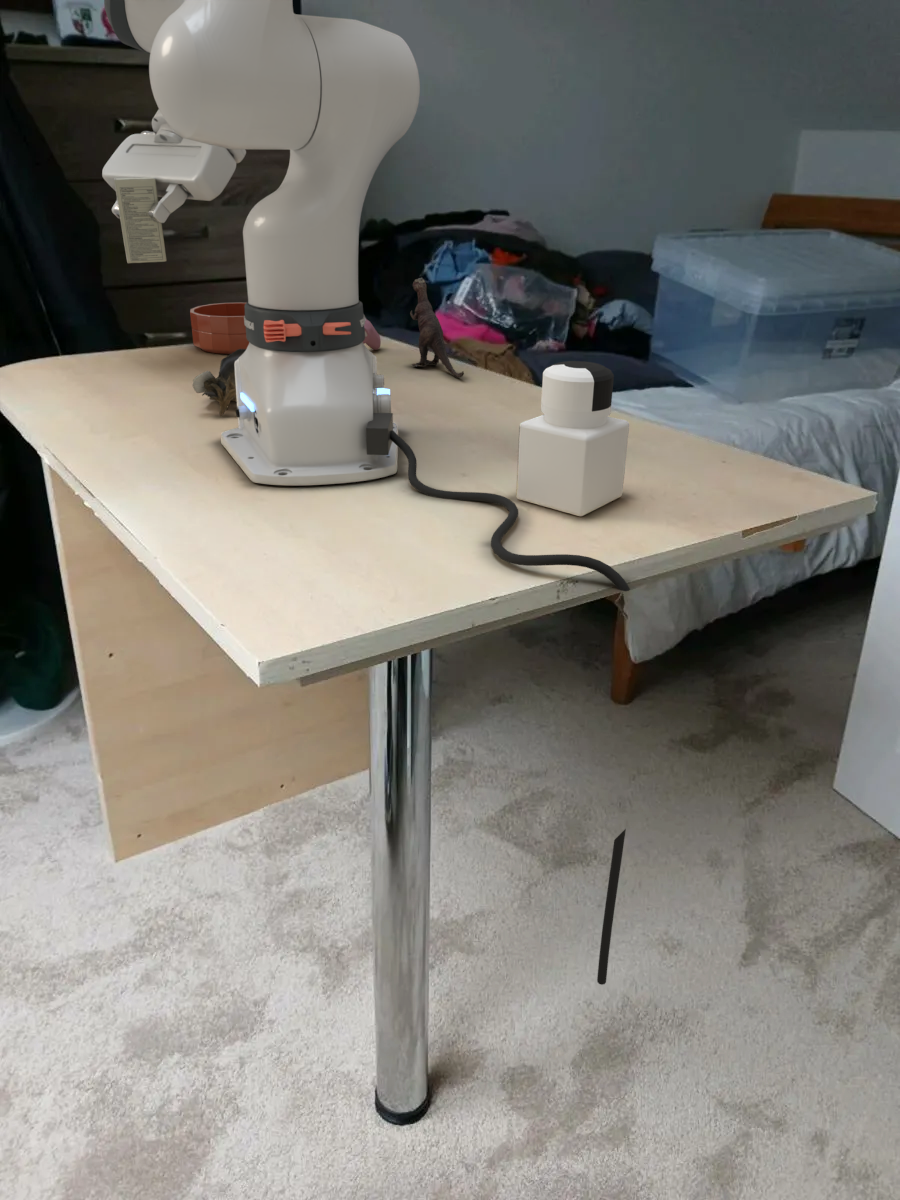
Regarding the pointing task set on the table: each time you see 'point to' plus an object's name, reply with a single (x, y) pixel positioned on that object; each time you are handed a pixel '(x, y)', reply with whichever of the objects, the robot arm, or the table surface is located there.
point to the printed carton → (139, 220)
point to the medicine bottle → (573, 442)
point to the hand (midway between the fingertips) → (136, 217)
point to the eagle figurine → (220, 382)
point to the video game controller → (371, 336)
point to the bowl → (219, 327)
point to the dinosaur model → (430, 331)
